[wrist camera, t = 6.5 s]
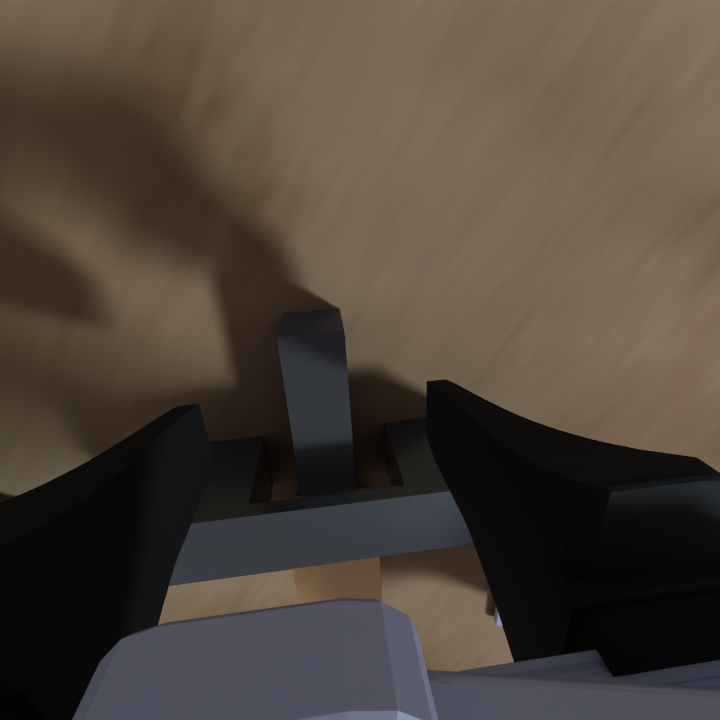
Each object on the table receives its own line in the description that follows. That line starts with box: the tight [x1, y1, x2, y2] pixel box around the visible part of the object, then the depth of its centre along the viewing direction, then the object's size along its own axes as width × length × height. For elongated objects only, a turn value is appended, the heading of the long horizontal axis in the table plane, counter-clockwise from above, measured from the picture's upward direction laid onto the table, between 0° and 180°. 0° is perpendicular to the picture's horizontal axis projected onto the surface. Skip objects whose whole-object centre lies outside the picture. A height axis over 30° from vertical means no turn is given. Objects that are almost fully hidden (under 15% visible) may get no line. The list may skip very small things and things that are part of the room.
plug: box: [276, 309, 382, 604], centre depth 17 cm, size 15×4×4 cm, turn 3°
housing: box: [169, 419, 474, 586], centre depth 16 cm, size 14×3×5 cm, turn 93°
